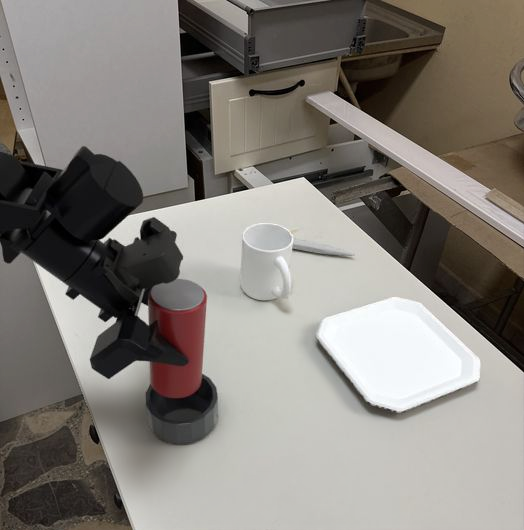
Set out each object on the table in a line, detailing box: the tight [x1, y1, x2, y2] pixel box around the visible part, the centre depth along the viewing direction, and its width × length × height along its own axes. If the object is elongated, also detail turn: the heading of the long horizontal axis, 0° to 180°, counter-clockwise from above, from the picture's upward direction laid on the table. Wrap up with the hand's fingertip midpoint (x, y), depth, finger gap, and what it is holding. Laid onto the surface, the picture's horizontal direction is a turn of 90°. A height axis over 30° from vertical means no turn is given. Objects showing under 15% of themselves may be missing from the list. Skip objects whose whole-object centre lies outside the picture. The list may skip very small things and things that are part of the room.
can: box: [147, 278, 208, 398], centre depth 62 cm, size 6×6×13 cm
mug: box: [240, 222, 294, 301], centre depth 87 cm, size 12×8×10 cm
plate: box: [315, 296, 482, 414], centre depth 81 cm, size 21×21×2 cm
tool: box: [292, 238, 356, 257], centre depth 99 cm, size 17×2×2 cm, turn 77°
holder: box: [144, 373, 219, 446], centre depth 69 cm, size 9×9×4 cm
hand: (190, 342), depth 62 cm, fingers closed on can, 6 cm apart
